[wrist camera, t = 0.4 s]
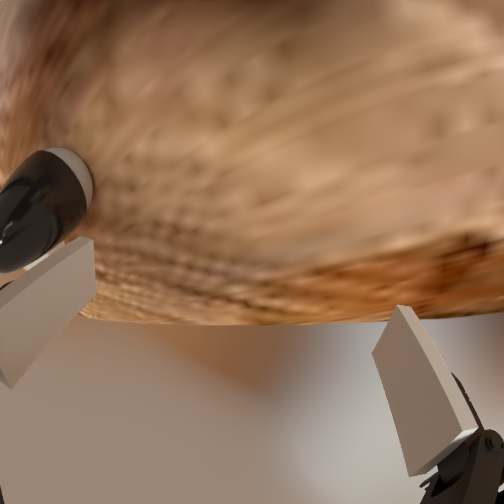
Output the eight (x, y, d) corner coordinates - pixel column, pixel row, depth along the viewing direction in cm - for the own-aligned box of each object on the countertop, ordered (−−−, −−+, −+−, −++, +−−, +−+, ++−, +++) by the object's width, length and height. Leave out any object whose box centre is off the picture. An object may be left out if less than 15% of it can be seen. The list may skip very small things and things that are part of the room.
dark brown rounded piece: (56, 116, 22) (-51, 203, 12) (118, 172, 26) (21, 283, 16) (41, 171, 29) (-35, 251, 19) (92, 218, 33) (24, 310, 22)
